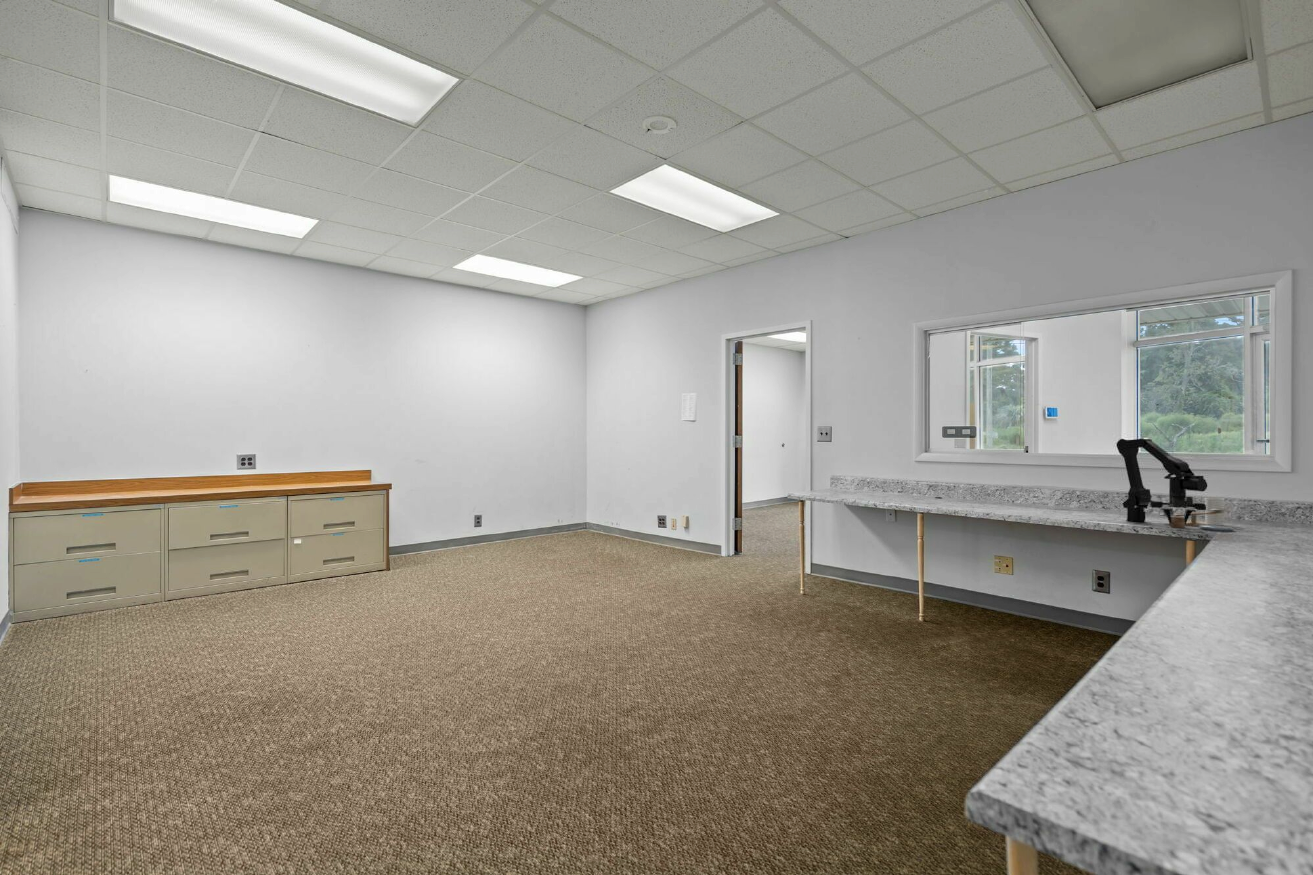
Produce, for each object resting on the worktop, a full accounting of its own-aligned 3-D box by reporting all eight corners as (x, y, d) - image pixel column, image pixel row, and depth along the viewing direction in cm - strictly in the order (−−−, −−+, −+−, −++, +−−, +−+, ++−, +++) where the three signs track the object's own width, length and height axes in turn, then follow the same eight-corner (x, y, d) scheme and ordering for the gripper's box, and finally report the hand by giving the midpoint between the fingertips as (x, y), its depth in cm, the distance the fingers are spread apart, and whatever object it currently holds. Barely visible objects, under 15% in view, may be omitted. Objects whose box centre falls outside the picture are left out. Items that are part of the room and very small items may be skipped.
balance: (1160, 523, 290) (1160, 507, 290) (1159, 522, 295) (1159, 505, 295) (1230, 528, 277) (1230, 510, 277) (1227, 526, 282) (1227, 509, 282)
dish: (1202, 530, 271) (1202, 527, 271) (1197, 527, 280) (1197, 524, 280) (1236, 532, 265) (1236, 529, 265) (1230, 529, 274) (1230, 526, 274)
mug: (1205, 524, 288) (1205, 498, 288) (1203, 523, 293) (1203, 497, 293) (1235, 526, 282) (1235, 499, 282) (1232, 524, 287) (1233, 498, 287)
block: (1171, 527, 280) (1171, 517, 280) (1170, 525, 284) (1170, 515, 284) (1184, 527, 278) (1184, 517, 278) (1183, 526, 281) (1183, 516, 281)
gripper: (1153, 489, 279) (1152, 525, 279) (1208, 492, 269) (1208, 528, 269) (1150, 488, 288) (1150, 522, 288) (1203, 490, 278) (1203, 525, 278)
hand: (1177, 524), depth 281 cm, fingers closed on block, 4 cm apart
